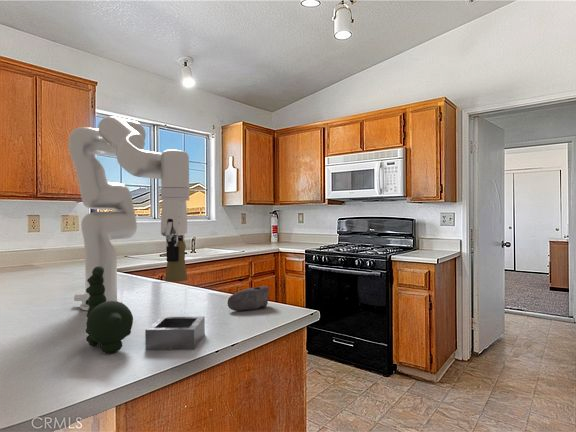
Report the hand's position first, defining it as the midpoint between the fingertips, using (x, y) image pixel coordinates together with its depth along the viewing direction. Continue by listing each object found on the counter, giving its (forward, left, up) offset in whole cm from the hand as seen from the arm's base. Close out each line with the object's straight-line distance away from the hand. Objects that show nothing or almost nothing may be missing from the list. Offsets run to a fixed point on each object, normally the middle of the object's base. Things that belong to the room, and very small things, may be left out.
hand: (175, 259), depth 107 cm
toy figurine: (-12, -17, -18) cm, 27 cm away
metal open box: (+4, -15, -18) cm, 24 cm away
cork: (0, 0, -6) cm, 6 cm away
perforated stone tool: (+19, +16, -18) cm, 31 cm away
